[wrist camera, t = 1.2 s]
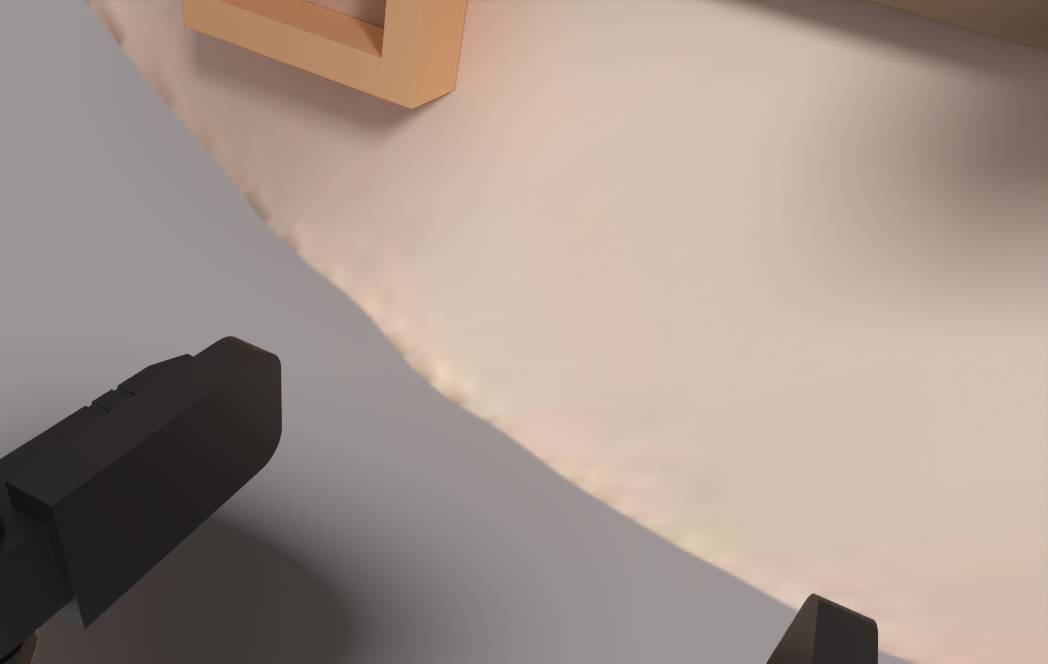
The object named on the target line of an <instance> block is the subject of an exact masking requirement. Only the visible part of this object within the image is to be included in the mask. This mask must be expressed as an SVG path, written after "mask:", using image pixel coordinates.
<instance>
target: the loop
mask: <svg viewBox="0 0 1048 664" xmlns="http://www.w3.org/2000/svg"><path fill="white" fill-rule="evenodd" d="M466 7H467V0H386V12H385V24H384V28H382V27H379V26H376V25H373V24H370V23H367V22H364V21H362V20H359V19H356V18H353V17H350V16H347V15H344V14H341V13H338V12H335V11H332V10H329V9H326V8H323V7H320V6H317V5H315V4H312V3H309V2H306V1H303V0H183V13H184V26H185V27H188V28H191V29H194V30H196V31H199V32H202V33H205V34H207V35H210V36H213V37H216V38H218V39H221V40H224V41H227V42H229V43H232V44H235V45H237V46H240V47H243V48H246V49H248V50H251V51H254V52H257V53H259V54H262V55H265V56H268V57H270V58H273V59H276V60H278V61H281V62H284V63H287V64H289V65H292V66H295V67H298V68H300V69H303V70H306V71H309V72H311V73H314V74H317V75H320V76H322V77H325V78H328V79H330V80H333V81H336V82H339V83H341V84H344V85H347V86H350V87H352V88H355V89H358V90H361V91H363V92H366V93H369V94H371V95H374V96H377V97H380V98H382V99H385V100H388V101H391V102H393V103H396V104H399V105H402V106H404V107H407V108H410V109H413V108H415V107H417V106H420V105H422V104H424V103H426V102H429V101H431V100H433V99H435V98H437V97H440V96H442V95H444V94H446V93H449V92H451V91H453V90H455V83H456V76H457V69H458V62H459V55H460V48H461V41H462V35H463V28H464V21H465V14H466Z"/></svg>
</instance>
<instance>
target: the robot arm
mask: <svg viewBox="0 0 1048 664" xmlns="http://www.w3.org/2000/svg"><path fill="white" fill-rule="evenodd" d="M281 407H282V406H281V363H280V360H279V358H278V357H277V356H276V355H275V354H273V353H270V352H268V351H266V350H263V349H261V348H259V347H257V346H254V345H252V344H250V343H247V342H245V341H243V340H240V339H238V338H236V337H232V336H229V337H225V338H222V339H220V340H219V341H217V342H216V343H214V344H212V345H211V346H209V347H208V348H206V349H205V350H203V351H202V352H200V353H199V354H197V355H196V356H194V357H193V356H191V355H189V354H185V355H182V356H179V357H176V358H172V359H170V360H166V361H163V362H160V363H157V364H153V365H151V366H148V367H147V368H145V369H143V370H142V371H140V372H139V373H137V374H135V375H134V376H133V377H131V378H129V379H127V380H126V381H124V382H123V383H121V384H119V385H118V388H117V389H116V390H115V391H114V390H110V391H108V392H107V393H105V394H103V395H102V396H100V397H99V398H97V399H96V400H94V401H92V404H91V406H90V407H87V406H84V407H83V408H81V409H80V410H78V411H76V412H75V413H73V414H72V415H70V416H68V417H67V418H65V419H64V420H62V421H60V422H59V423H57V424H56V425H54V426H52V427H51V428H50V429H48V430H46V431H44V432H43V433H41V434H40V435H38V436H36V437H35V438H33V439H32V440H30V441H28V442H27V443H25V444H24V445H22V446H20V447H19V448H17V449H16V450H14V451H13V452H11V453H9V454H8V455H6V456H5V457H3V458H1V459H0V664H31V663H32V660H33V656H34V653H35V649H36V646H37V641H38V628H39V627H40V626H41V625H43V624H44V623H45V622H46V621H47V620H49V619H50V618H51V617H52V616H53V615H54V614H56V613H57V614H59V615H61V616H62V617H64V618H66V619H67V620H69V621H71V622H73V623H74V624H76V625H78V626H79V627H81V628H83V629H86V628H87V627H88V626H89V625H90V624H91V623H92V622H94V621H95V620H96V619H97V618H98V617H99V616H100V615H101V614H102V613H103V612H105V611H106V610H107V609H108V608H109V607H110V606H111V605H112V604H113V603H114V602H115V601H117V600H118V599H119V598H120V597H121V596H122V595H123V594H124V593H126V592H127V591H128V590H129V589H130V588H131V587H132V586H133V585H134V584H136V582H138V581H139V580H140V579H141V578H142V577H143V576H144V575H145V574H147V573H148V572H149V571H150V570H151V569H152V568H153V567H154V566H155V565H157V563H159V562H160V561H161V560H162V559H163V558H164V557H165V556H166V555H167V554H169V553H170V552H171V551H172V550H173V549H174V548H175V547H176V546H177V545H179V544H180V543H181V542H182V541H183V540H184V539H185V538H186V537H187V536H189V535H190V534H191V533H192V532H193V531H194V530H195V529H196V528H197V527H198V526H200V525H201V524H202V523H203V522H204V521H205V520H206V519H207V518H208V517H210V516H211V515H212V514H213V513H214V512H215V511H216V510H217V509H218V508H219V507H221V506H222V505H223V504H224V503H225V502H226V501H227V500H228V499H229V498H231V496H233V495H234V494H235V493H236V492H237V491H238V490H239V489H240V488H242V487H243V486H244V485H245V484H246V483H247V482H248V481H249V480H250V479H251V478H252V477H254V476H255V475H256V474H257V473H258V472H259V471H260V470H261V469H262V468H263V467H264V466H265V465H266V464H267V463H268V462H269V460H270V459H271V457H272V455H273V454H274V452H275V450H276V448H277V446H278V444H279V441H280V437H281V432H282V413H281V412H282V408H281ZM767 664H878V629H877V624H876V622H875V621H874V620H873V619H871V618H869V617H866V616H864V615H862V614H859V613H857V612H855V611H853V610H850V609H848V608H846V607H844V606H841V605H839V604H837V603H834V602H832V601H830V600H828V599H825V598H823V597H821V596H819V595H816V594H811V595H810V596H809V597H808V598H807V600H806V601H805V603H804V604H803V606H802V607H801V609H800V611H799V612H798V614H797V615H796V617H795V618H794V620H793V622H792V623H791V625H790V626H789V628H788V630H787V631H786V633H785V635H784V636H783V638H782V639H781V641H780V642H779V644H778V646H777V647H776V649H775V650H774V652H773V653H772V655H771V657H770V658H769V660H768V662H767Z"/></svg>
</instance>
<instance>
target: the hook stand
mask: <svg viewBox="0 0 1048 664" xmlns="http://www.w3.org/2000/svg"><path fill="white" fill-rule="evenodd" d="M868 1H872V2H875V3H879V4H882V5H886V6H889V7H893V8H896V9H900V10H903V11H907V12H910V13H914V14H918V15H921V16H925V17H928V18H932V19H935V20H939V21H942V22H946V23H949V24H953V25H957V26H960V27H964V28H967V29H971V30H974V31H978V32H981V33H985V34H988V35H992V36H996V37H999V38H1003V39H1006V40H1010V41H1013V42H1017V43H1020V44H1024V45H1027V46H1031V47H1035V48H1038V49H1042V50H1045V51H1048V0H868Z"/></svg>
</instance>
